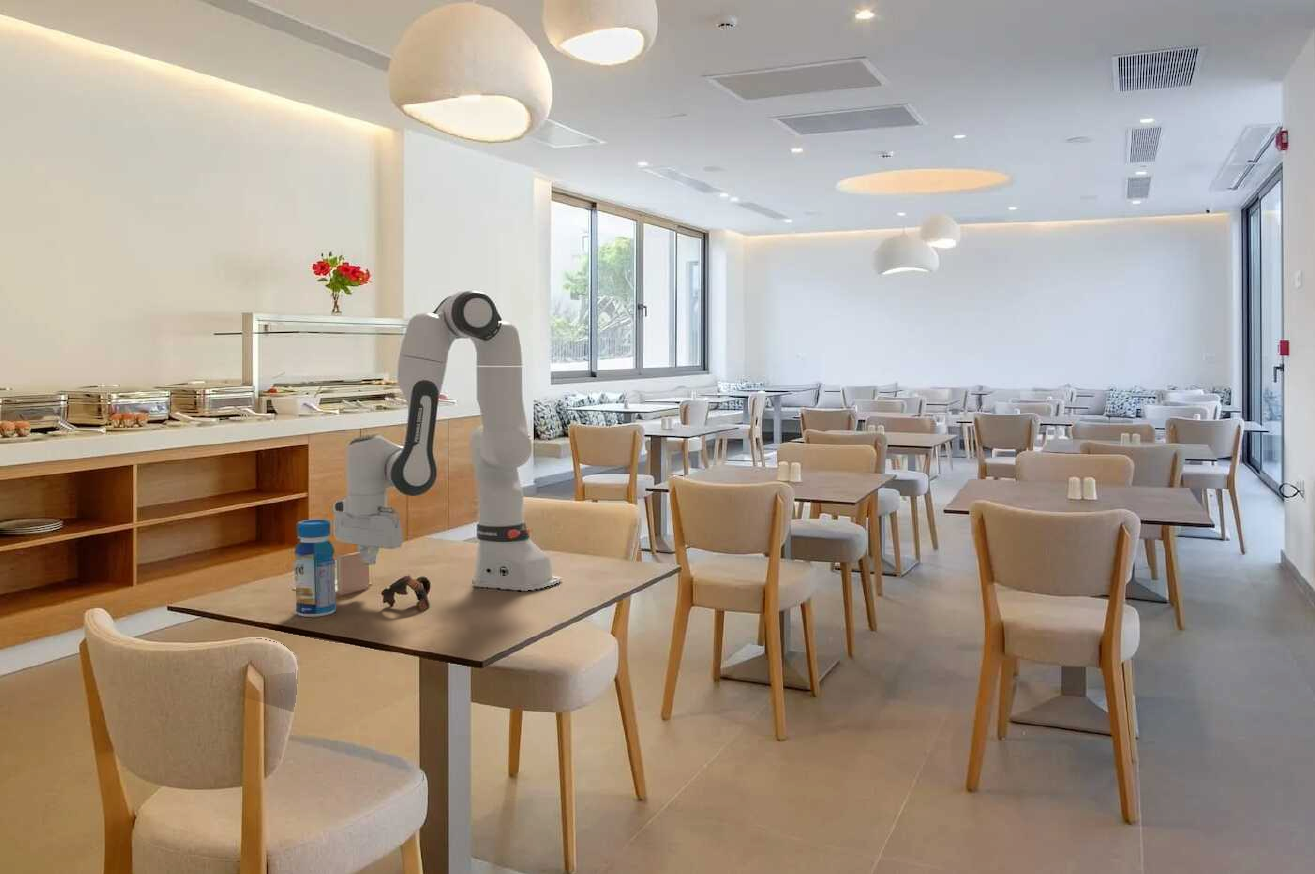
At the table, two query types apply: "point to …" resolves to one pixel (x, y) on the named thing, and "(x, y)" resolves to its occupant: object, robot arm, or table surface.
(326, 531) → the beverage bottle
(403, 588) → the brown ring-shaped piece
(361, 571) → the glazed tile
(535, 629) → the table surface
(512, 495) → the robot arm
